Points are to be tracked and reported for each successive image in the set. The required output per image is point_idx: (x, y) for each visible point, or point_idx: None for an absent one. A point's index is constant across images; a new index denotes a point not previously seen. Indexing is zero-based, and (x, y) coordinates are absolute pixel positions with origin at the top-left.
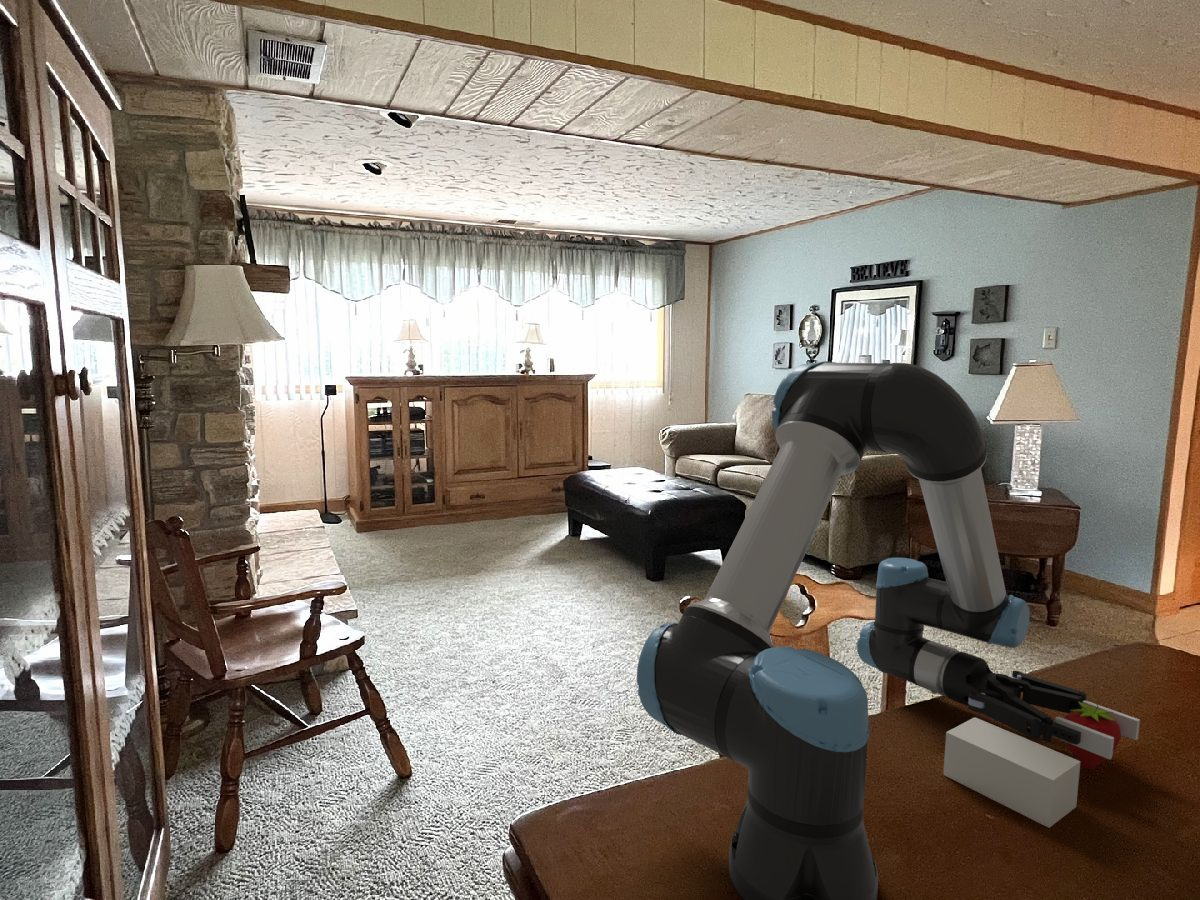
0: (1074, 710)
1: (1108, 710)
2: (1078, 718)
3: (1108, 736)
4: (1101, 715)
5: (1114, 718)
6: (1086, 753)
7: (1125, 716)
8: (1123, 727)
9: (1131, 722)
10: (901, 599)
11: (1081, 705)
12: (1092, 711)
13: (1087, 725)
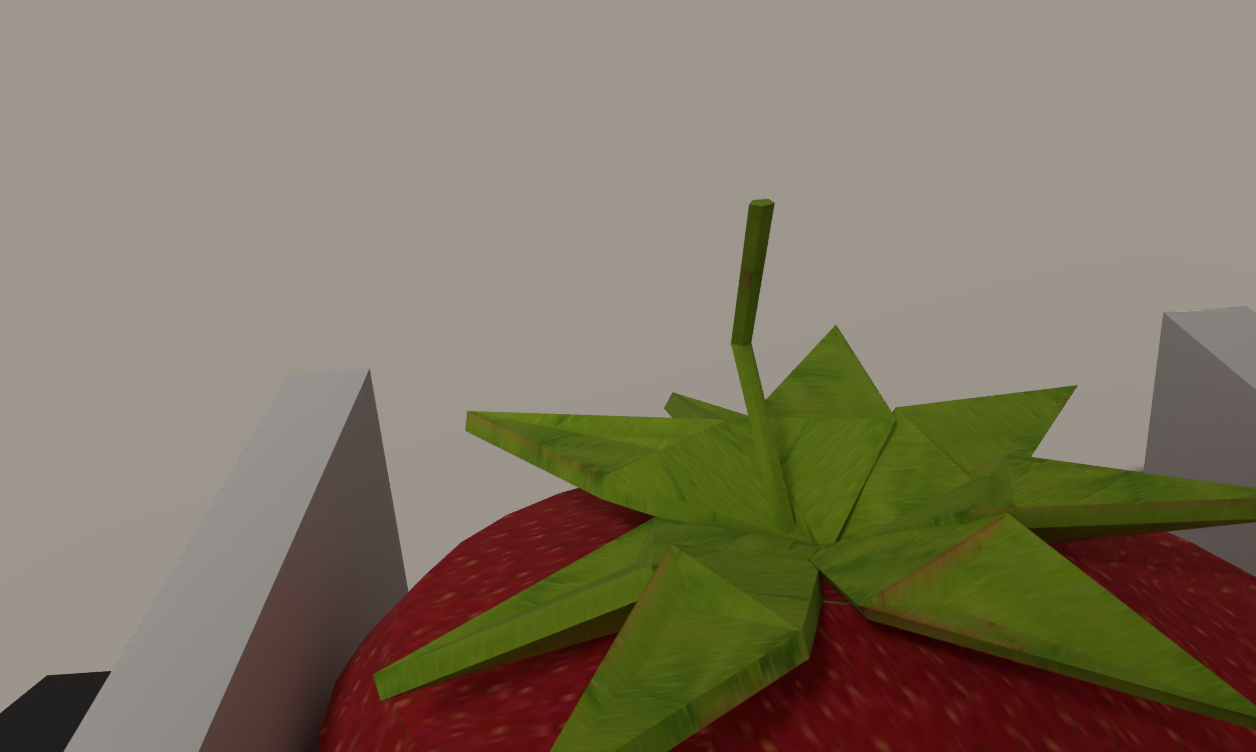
0: (1180, 666)
1: (262, 576)
2: (1215, 659)
3: (1220, 332)
4: (830, 405)
5: (321, 602)
6: None
7: (323, 439)
8: (365, 603)
9: (361, 448)
10: None
11: (769, 655)
12: (747, 545)
13: (1194, 562)
